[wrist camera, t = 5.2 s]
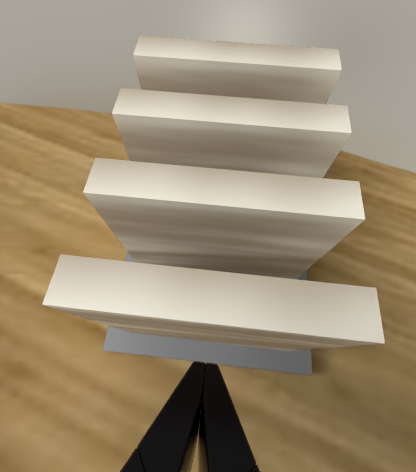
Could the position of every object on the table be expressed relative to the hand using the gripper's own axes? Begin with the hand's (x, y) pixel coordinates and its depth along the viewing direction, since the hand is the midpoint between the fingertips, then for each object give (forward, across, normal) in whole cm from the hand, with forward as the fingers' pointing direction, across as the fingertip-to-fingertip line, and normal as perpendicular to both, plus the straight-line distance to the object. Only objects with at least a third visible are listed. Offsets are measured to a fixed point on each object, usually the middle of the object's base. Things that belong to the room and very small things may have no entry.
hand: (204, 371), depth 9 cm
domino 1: (+7, 0, +4) cm, 8 cm away
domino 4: (+15, 0, -4) cm, 16 cm away
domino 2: (+10, 0, +1) cm, 10 cm away
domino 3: (+13, 0, -2) cm, 13 cm away
